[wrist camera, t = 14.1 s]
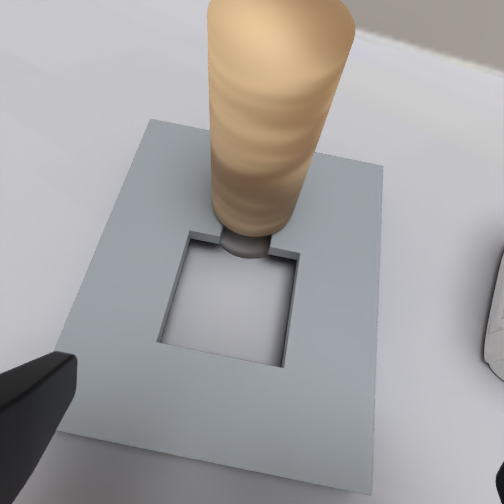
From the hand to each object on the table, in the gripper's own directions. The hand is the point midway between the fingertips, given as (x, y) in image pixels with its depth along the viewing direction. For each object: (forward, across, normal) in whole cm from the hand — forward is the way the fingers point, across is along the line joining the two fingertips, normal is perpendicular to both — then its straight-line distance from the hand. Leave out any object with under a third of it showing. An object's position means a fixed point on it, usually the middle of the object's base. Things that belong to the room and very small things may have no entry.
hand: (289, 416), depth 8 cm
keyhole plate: (+15, +2, +4) cm, 16 cm away
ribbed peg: (+18, +2, +1) cm, 18 cm away
